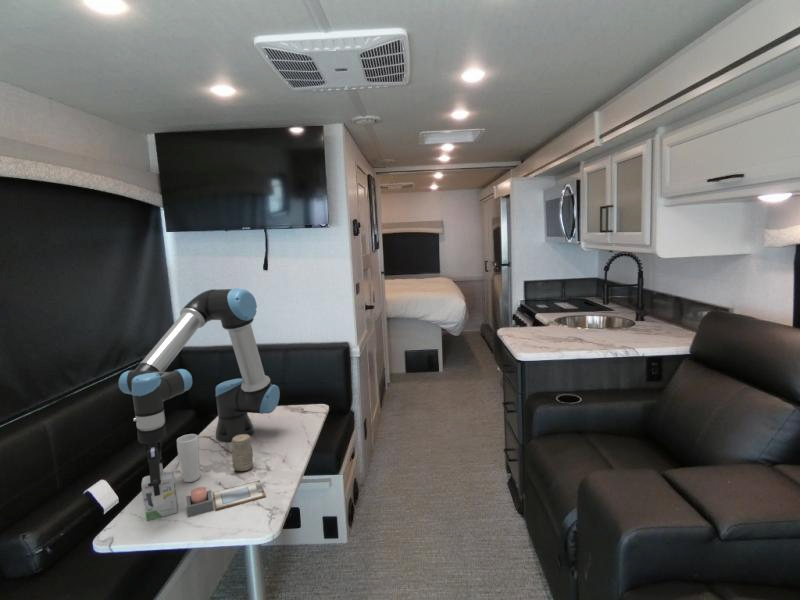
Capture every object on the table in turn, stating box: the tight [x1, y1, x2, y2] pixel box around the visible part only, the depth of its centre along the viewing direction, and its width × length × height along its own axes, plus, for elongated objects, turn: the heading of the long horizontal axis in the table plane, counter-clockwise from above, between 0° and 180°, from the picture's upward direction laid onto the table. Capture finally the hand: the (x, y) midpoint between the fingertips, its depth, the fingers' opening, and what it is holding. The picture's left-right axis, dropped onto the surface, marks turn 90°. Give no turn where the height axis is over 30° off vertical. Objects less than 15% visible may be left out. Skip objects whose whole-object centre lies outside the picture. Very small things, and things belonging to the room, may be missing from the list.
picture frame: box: [211, 479, 267, 512], centre depth 150 cm, size 11×15×1 cm
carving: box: [230, 434, 254, 472], centre depth 167 cm, size 6×8×12 cm
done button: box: [190, 486, 207, 505], centre depth 144 cm, size 4×4×4 cm
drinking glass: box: [176, 433, 201, 483], centre depth 161 cm, size 7×7×15 cm
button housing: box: [186, 490, 214, 518], centre depth 144 cm, size 7×7×3 cm
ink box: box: [140, 470, 179, 521], centre depth 142 cm, size 9×5×12 cm, turn 114°
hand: (159, 493), depth 141 cm, fingers open, 13 cm apart
